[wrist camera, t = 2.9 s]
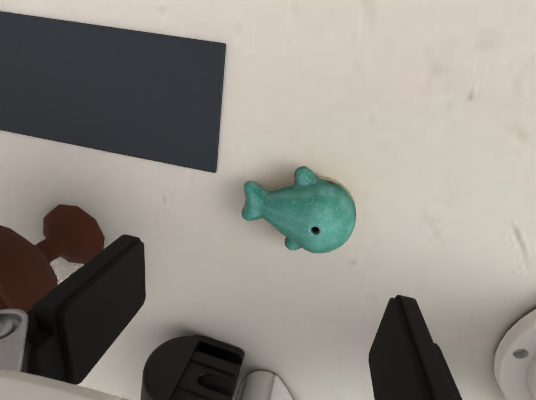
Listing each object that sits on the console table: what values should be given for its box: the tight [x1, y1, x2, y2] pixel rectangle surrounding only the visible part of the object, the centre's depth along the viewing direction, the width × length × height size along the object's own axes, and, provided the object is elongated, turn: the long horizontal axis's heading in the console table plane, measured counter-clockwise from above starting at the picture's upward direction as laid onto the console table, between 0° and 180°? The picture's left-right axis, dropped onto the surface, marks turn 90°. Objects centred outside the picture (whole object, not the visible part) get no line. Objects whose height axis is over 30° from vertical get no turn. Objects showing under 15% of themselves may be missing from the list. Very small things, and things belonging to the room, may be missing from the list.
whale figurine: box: [242, 166, 356, 253], centre depth 19 cm, size 6×7×4 cm
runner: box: [0, 11, 226, 173], centre depth 20 cm, size 20×8×1 cm, turn 82°
